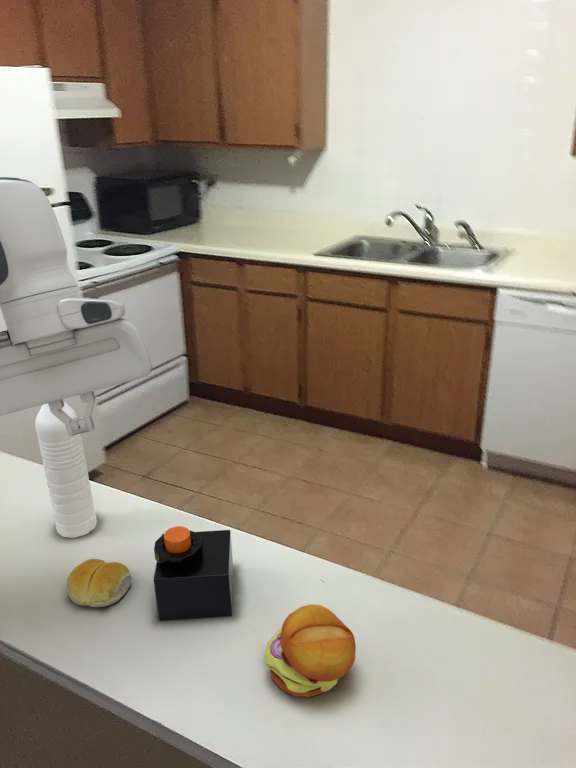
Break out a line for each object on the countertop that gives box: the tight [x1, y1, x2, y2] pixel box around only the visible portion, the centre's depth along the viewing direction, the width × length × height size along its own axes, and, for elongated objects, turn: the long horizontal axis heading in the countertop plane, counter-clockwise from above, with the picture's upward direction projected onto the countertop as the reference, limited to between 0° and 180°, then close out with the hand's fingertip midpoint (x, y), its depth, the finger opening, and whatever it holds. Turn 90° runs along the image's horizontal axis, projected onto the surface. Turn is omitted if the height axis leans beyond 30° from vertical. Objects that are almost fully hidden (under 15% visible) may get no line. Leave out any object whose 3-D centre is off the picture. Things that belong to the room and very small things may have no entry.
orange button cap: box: [163, 525, 191, 553], centre depth 92 cm, size 4×4×2 cm
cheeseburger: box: [264, 603, 357, 698], centre depth 81 cm, size 10×11×10 cm
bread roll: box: [66, 558, 133, 608], centre depth 97 cm, size 8×9×4 cm
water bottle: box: [34, 400, 98, 539], centre depth 108 cm, size 9×6×25 cm
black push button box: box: [152, 529, 234, 622], centre depth 94 cm, size 10×10×9 cm
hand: (82, 432), depth 80 cm, fingers closed
